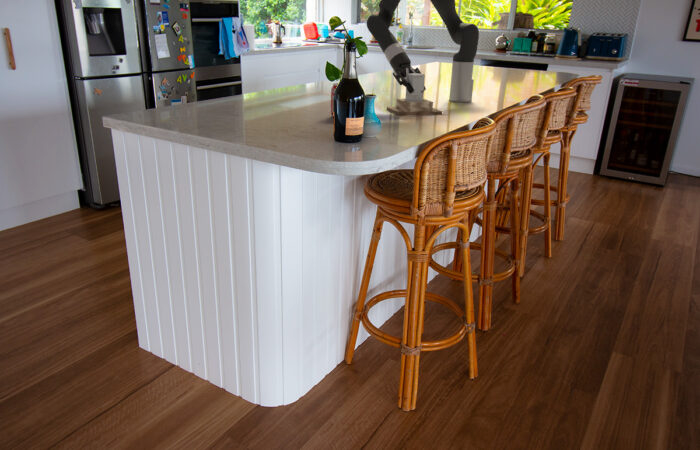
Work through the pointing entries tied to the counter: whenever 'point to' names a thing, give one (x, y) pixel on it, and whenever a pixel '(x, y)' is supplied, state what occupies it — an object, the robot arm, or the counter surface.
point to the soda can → (332, 96)
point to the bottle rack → (414, 108)
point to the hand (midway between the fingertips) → (418, 91)
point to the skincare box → (416, 88)
